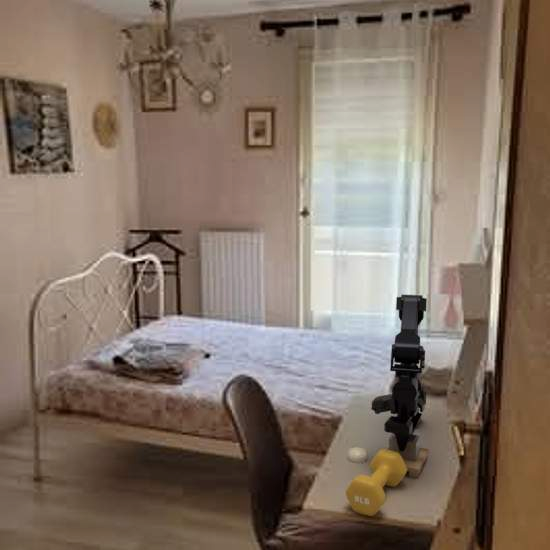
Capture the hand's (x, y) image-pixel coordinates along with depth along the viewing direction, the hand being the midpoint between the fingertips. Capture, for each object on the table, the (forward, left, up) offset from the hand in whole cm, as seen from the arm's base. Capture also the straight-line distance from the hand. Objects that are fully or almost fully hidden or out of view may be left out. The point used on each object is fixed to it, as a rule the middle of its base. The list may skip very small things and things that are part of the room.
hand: (404, 446), depth 156 cm
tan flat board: (0, 0, -5) cm, 5 cm away
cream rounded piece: (+2, -12, -5) cm, 13 cm away
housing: (0, 0, -2) cm, 3 cm away
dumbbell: (+18, -2, -5) cm, 19 cm away
